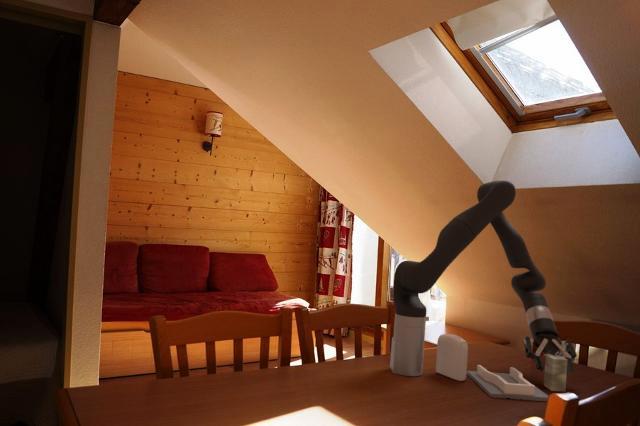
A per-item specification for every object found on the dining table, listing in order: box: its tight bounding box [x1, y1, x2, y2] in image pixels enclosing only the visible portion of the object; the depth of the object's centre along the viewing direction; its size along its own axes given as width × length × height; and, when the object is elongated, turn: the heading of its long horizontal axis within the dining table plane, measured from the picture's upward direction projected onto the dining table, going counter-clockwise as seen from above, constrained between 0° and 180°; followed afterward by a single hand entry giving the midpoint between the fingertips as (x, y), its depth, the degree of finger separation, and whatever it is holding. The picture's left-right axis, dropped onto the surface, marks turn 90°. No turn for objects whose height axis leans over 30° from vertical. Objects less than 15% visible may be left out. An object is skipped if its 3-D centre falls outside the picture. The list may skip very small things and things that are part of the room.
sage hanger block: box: [543, 354, 568, 392], centre depth 153 cm, size 4×5×9 cm
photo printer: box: [435, 333, 469, 382], centre depth 157 cm, size 10×4×12 cm, turn 29°
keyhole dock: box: [466, 364, 549, 402], centre depth 150 cm, size 16×22×4 cm
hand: (556, 371), depth 152 cm, fingers open, 8 cm apart
